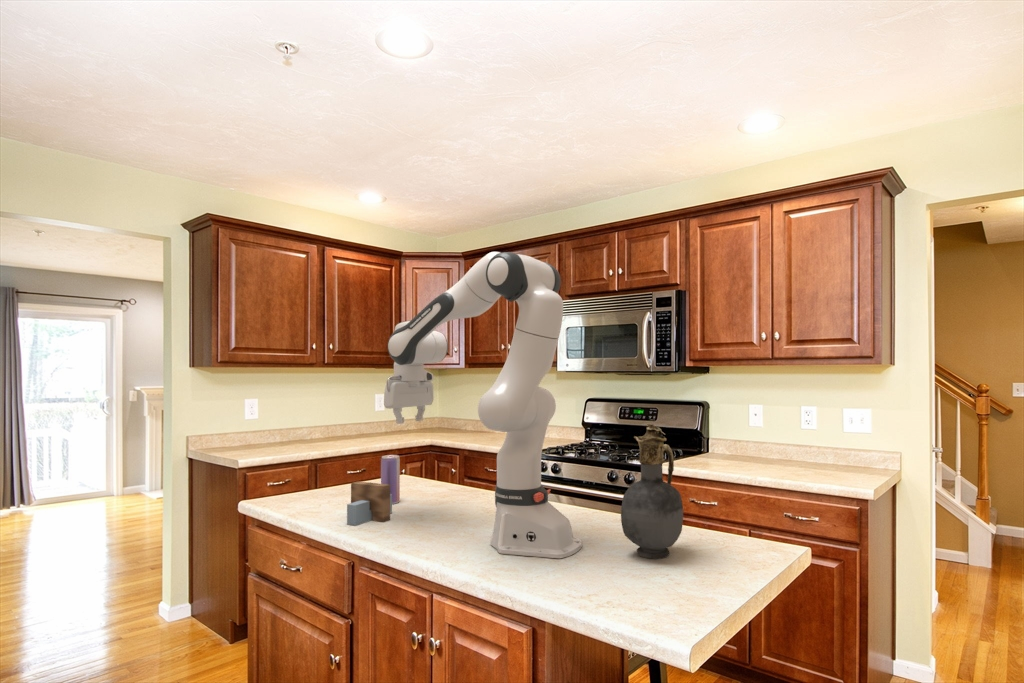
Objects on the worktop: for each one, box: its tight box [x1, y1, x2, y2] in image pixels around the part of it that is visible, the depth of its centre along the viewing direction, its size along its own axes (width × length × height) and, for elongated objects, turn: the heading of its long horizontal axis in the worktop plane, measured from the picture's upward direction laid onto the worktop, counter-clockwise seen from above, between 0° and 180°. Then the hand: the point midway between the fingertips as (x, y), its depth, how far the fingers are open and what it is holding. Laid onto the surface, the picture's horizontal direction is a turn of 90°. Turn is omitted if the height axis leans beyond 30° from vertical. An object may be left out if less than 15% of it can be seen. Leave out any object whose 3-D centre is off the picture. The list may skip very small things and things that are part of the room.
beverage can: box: [380, 454, 401, 505], centre depth 194 cm, size 6×6×15 cm
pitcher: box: [620, 423, 684, 560], centre depth 141 cm, size 11×19×30 cm, turn 141°
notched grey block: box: [346, 494, 393, 526], centre depth 174 cm, size 3×16×6 cm, turn 153°
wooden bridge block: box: [350, 480, 391, 523], centre depth 174 cm, size 12×3×10 cm, turn 63°
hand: (409, 422), depth 177 cm, fingers open, 8 cm apart
